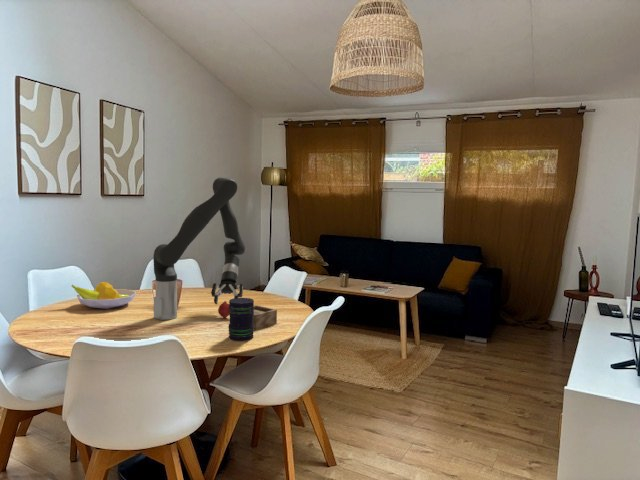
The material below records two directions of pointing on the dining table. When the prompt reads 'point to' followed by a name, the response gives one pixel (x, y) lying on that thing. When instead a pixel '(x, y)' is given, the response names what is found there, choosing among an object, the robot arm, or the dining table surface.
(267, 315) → the wooden square tray
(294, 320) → the dining table surface
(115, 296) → the fruit bowl
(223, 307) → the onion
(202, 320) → the dining table surface
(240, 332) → the storage jar
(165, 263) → the robot arm
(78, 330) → the dining table surface
